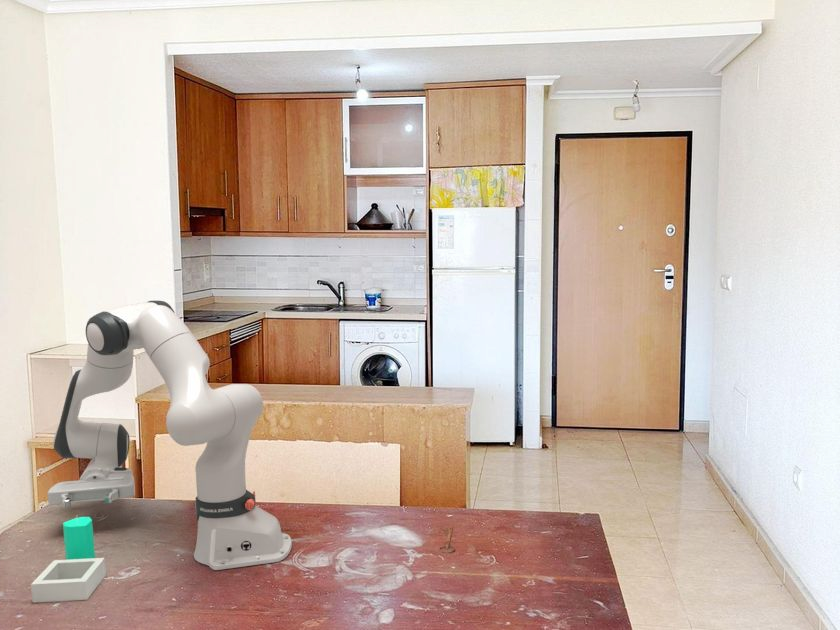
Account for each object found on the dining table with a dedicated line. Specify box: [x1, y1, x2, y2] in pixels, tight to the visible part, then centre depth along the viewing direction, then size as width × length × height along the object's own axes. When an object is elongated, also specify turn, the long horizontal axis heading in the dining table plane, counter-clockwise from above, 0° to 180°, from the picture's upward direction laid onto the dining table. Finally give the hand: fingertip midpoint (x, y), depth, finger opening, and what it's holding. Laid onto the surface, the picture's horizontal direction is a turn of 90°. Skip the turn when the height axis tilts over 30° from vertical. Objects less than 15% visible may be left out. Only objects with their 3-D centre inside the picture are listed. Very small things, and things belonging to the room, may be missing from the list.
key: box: [438, 524, 456, 554], centre depth 178 cm, size 6×1×15 cm
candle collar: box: [30, 557, 107, 603], centre depth 158 cm, size 11×11×4 cm
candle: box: [62, 516, 96, 560], centre depth 169 cm, size 6×6×12 cm
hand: (86, 502), depth 180 cm, fingers open, 8 cm apart
